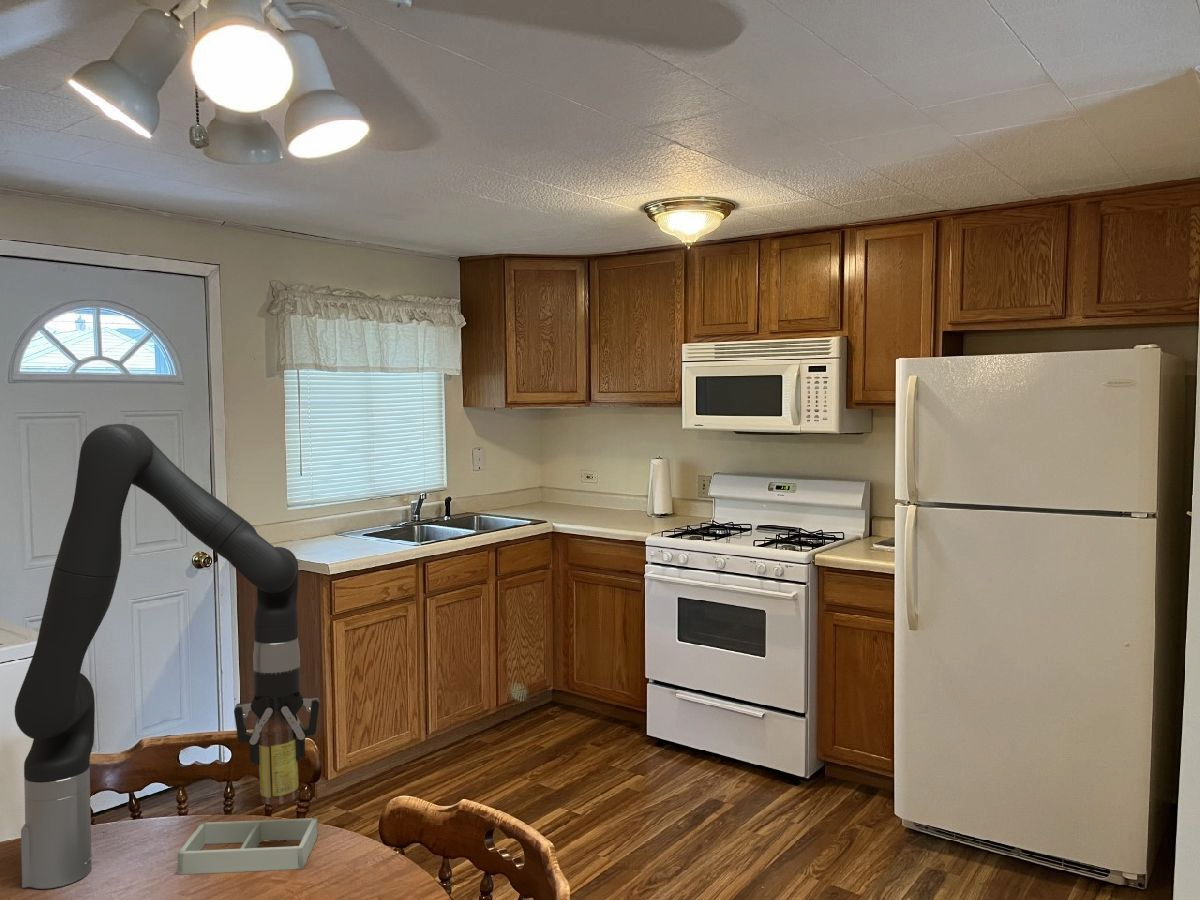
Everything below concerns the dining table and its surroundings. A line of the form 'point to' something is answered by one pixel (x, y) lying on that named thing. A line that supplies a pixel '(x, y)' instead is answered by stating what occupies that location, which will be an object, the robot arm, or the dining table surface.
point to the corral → (248, 846)
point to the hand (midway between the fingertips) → (278, 761)
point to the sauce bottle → (277, 758)
